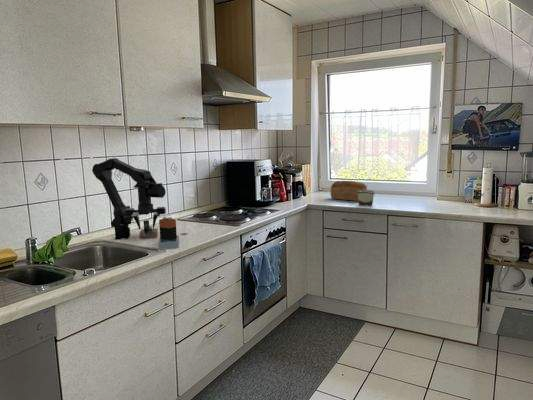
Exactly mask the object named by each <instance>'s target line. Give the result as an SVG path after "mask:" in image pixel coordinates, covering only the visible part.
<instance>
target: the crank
mask: <svg viewBox="0 0 533 400" xmlns="http://www.w3.org/2000/svg"><path fill="white" fill-rule="evenodd" d="M143 229H144V231H145V232H144V234H143V237H147V236H148V234H149V232H150V231H151V230H152V229H153V225H152V226H151V225H150V220H148V219H145V220H143Z"/></svg>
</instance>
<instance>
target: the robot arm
mask: <svg viewBox="0 0 533 400" xmlns="http://www.w3.org/2000/svg"><path fill="white" fill-rule="evenodd" d="M114 169H115V170H117V171H120V172H122V173H123V174H125V175H127V176H129V177H130V178H131V179H132V181H134V182H135V183H136V184H134V185H133V188H135V189H137V196H138V205H137V209H135V207H133V208H131V206H130V205H126V204H124V202H123V200H122V198H121V195H120V194H119V191H118V189H117V187H116V185H115V183H114V181H113V170H114ZM91 171H92V174H93V175H94V177H95V178H96V179H97V180H98V181H100V182H101V184H102V186H103V188H104V190H105V192H106V194H107V196H108V199H109V200H110V203H111V204H112V207H113V213H112V214H113V219H112V220H111V221H110V225H111V228H114V240H122V239H123V240H125V239H129V238H130V236H131V227H129V225H131V224H132V220H134V221H135V223H136V226H137V227H138V230H141V221H140V216H142V215H143V216H144V215H146V216H147V215H149V214H153V216H152V217H153V218H152V229H155V226H156V223H157V222H156V221H157V219H158V217H160V216H161V215H165V214H166V213H167V209H166V207H165V206H157V207H156V208H154V203H152V198H157V199H160V198H161V199H163V198H164V197H165V195H166V189H165V187H164V185H163V183H162V182H158V183H157V182H156V180H155V179H154V177H153V176H152V172H151V171H149V170H146V169H142V168H137V167H134V166H132V165H131V164H128V163H126V162H124V161H121V160H119V159H118V158H116V157H115V158H108V159H107V160H105V161H102V162H100V163H95V164H94V165H93V166H92V169H91Z"/></svg>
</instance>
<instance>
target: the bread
mask: <svg viewBox="0 0 533 400" xmlns="http://www.w3.org/2000/svg"><path fill="white" fill-rule="evenodd" d="M360 190H368V187H367V185H366V184H365V183H363V182H361V181H356V180H355V181H354V180H337V181H335V182H333V183H332V184H331V186H330V197H331V199H334V200H345V201H354V202H358V194H357V192H358V191H360Z"/></svg>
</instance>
